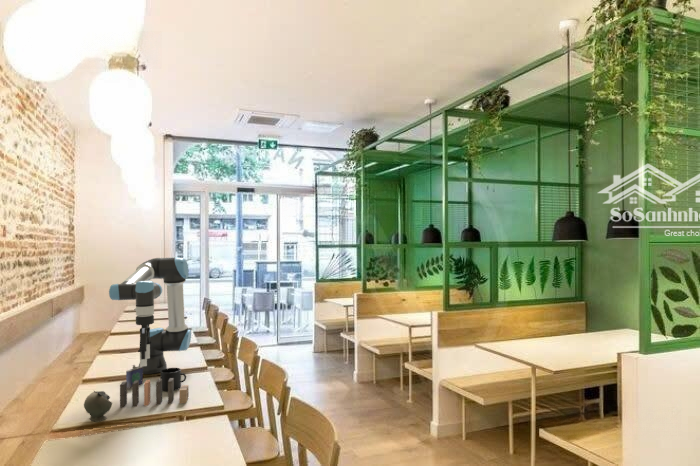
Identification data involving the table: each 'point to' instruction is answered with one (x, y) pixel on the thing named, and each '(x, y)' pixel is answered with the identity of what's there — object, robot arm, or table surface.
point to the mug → (171, 373)
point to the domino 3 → (147, 393)
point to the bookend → (183, 394)
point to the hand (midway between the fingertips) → (145, 362)
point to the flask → (134, 376)
